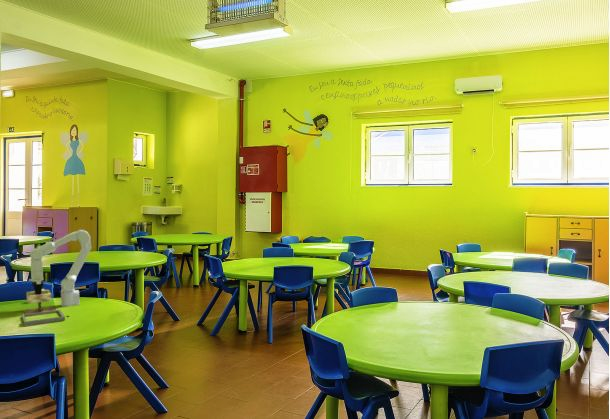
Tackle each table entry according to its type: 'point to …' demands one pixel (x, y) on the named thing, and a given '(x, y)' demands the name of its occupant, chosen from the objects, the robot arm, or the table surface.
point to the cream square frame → (39, 296)
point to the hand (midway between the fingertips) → (38, 295)
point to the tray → (43, 321)
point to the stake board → (39, 309)
